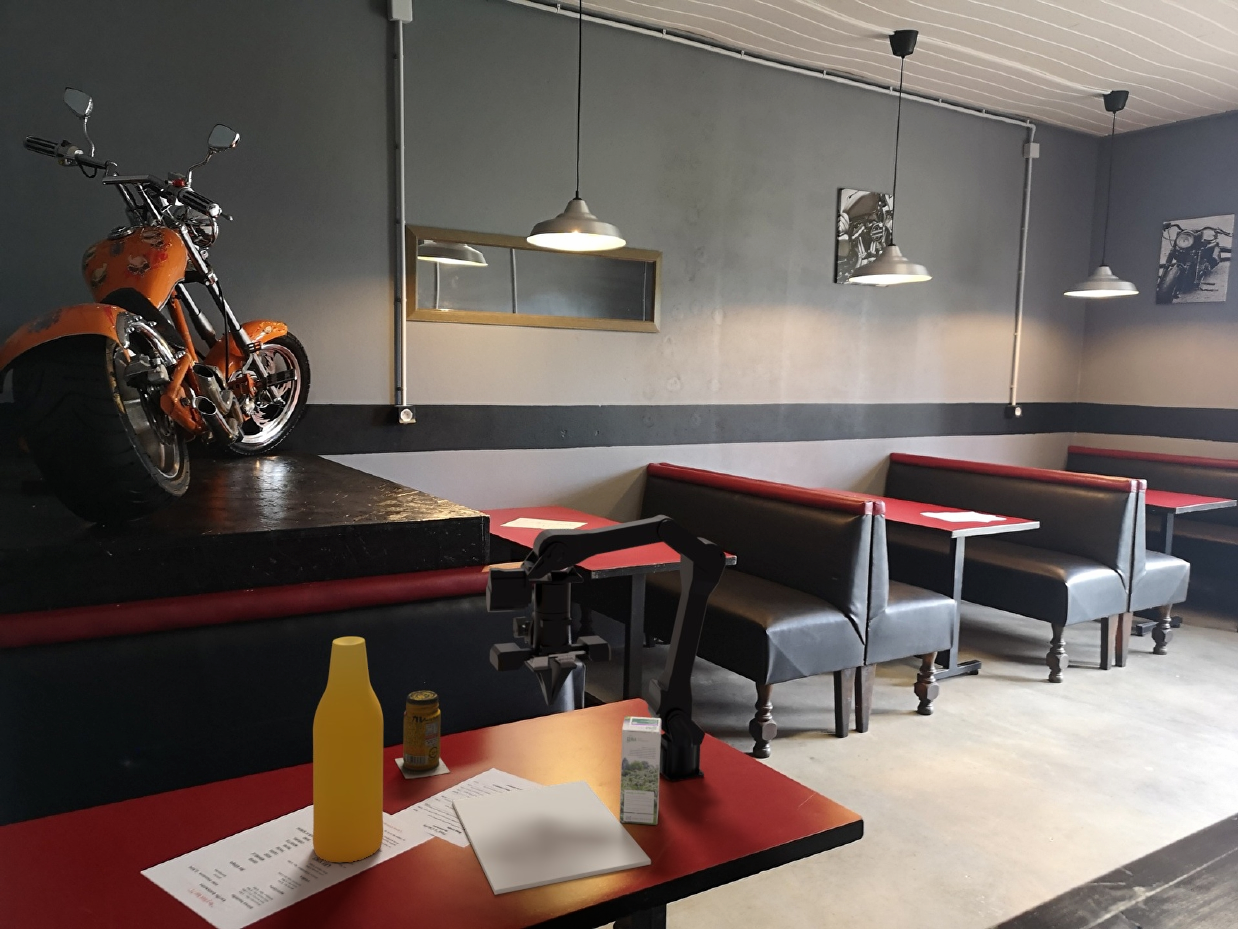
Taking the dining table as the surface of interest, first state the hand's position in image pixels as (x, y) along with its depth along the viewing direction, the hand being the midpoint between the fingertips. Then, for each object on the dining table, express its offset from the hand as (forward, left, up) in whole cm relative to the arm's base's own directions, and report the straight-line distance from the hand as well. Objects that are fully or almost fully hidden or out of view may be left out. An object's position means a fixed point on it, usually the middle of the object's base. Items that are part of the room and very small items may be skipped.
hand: (549, 705), depth 142 cm
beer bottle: (+32, +10, -13) cm, 36 cm away
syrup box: (-10, +15, -13) cm, 22 cm away
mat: (+5, +15, -13) cm, 21 cm away
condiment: (+18, -13, -13) cm, 26 cm away
